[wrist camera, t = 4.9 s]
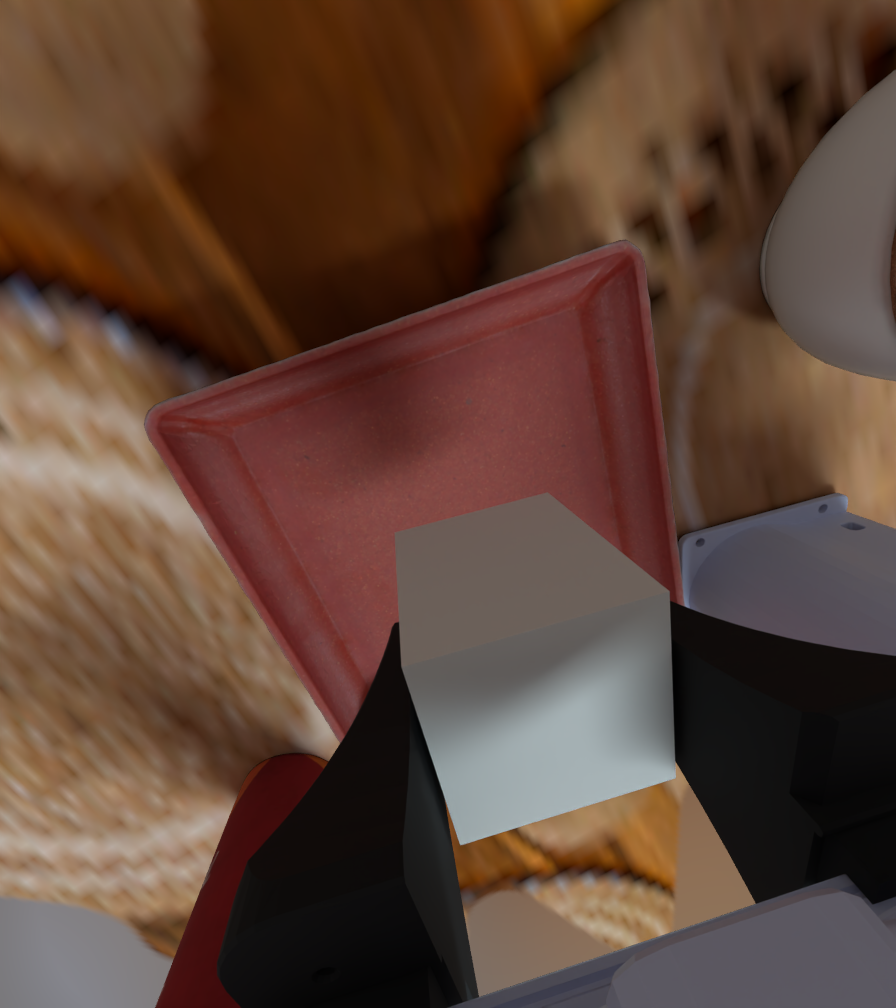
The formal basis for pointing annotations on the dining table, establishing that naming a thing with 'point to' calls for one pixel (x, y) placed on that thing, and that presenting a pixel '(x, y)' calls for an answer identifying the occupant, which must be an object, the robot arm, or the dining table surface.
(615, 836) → the dining table surface
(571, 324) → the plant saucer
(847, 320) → the lidded jar
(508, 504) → the block
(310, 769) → the paper cup
